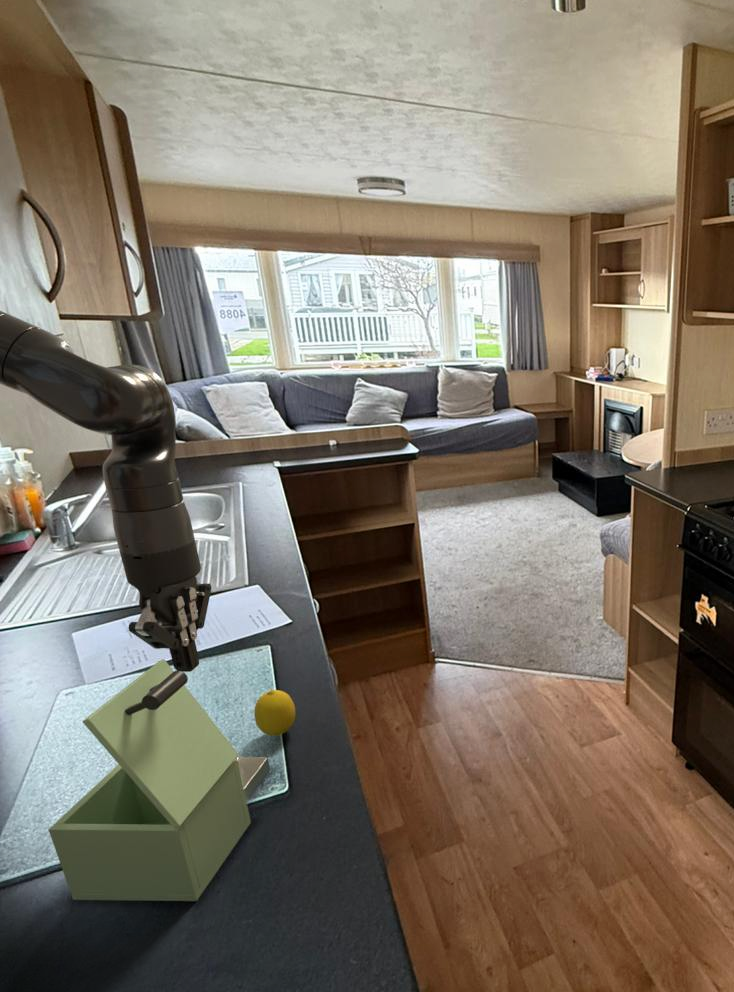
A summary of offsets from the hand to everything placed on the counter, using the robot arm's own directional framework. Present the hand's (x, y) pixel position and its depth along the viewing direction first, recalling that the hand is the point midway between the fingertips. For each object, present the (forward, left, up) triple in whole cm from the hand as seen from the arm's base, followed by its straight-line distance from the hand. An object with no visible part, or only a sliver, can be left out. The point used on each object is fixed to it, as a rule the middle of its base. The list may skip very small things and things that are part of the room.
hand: (187, 668), depth 82 cm
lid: (+4, -12, -2) cm, 13 cm away
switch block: (0, 0, -19) cm, 19 cm away
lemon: (+3, +12, -19) cm, 23 cm away
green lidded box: (+1, -12, -19) cm, 22 cm away
